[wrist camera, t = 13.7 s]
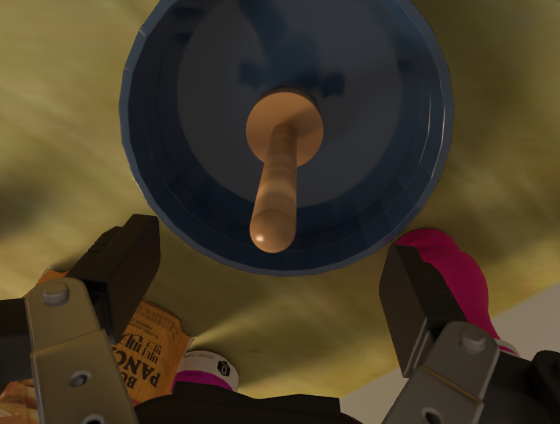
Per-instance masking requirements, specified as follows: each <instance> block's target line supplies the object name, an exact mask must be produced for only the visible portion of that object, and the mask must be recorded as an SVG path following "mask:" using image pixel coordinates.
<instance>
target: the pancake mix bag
mask: <svg viewBox="0 0 560 424" xmlns="http://www.w3.org/2000/svg"><path fill="white" fill-rule="evenodd" d="M70 270H71V269H69V270H67V271H65V272H58V271H54V270H50V269H46V270H45V272H44V273H43V275H42V276H41V278H40V279H39V281H38V283H37V284H36V286H37V285H39V284H41V283H43V282H45V281H48V280H51V279H56V278H64V277H65V275H66V274H67V273H68V272H69V271H70ZM36 286H35V287H36ZM28 293H29V292H28ZM28 293H27V294H28ZM27 294H25V295H24V296H23V297H22V298H25V297H26V295H27ZM193 340H194V339H193V338H191V337H190V336H189V335H187V334H186V333H185V332H183V331H182V326H181V321H180V320H179V319H178V318H177V317H175V316H174V315H172V314H171V313H169V312H168V311H166V310H164V309H162V308H160V307H158V306H156V305H154V304H152V303H150V302H148V301H146V300H144V299H142V301H141V302H140V304H139V306H138V308H137V310H136V312H135V313H134V315H133V317H132V319H131V321H130V323H129V324H128V326H127V328H126V330H125V332H124V333H123V335H122V337H121V339H120V341H119V343H118V344H117V345H111V347H112V350H113V353H114V355H115V358H116V361H117V364H118V366H119V369H120V372H121V374H122V377H123V380H124V383H125V385H126V388H127V391H128V394H129V396H130V399H131V402H132V404H133V407H134V406H136V405H138V404H140V403H142V402H144V401H147V400H149V399H152V398H155V397H159V396H163V395H168V394H170V392H171V388H172V385H173V381H174V378H175V376H176V373H177V370H178V368H179V366H180V363H181V361H182V359H183V356H184V355H185V353H186V351H187V350H188V348H189V346H190V345H191V343H192V342H193ZM0 424H39V417H38V410H37V403H36V396H35V389H34V382H33V378H32V379H26V380H20V381H14V382H10V383H9V384H8V386H7V387H6V388H5V390H4V391H3V393H2V394H1V396H0Z"/></svg>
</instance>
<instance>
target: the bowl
mask: <svg viewBox="0 0 560 424" xmlns="http://www.w3.org/2000/svg"><path fill="white" fill-rule="evenodd" d="M278 87H294V88H297V89H300V90H302V91H304V92H305V93H307V94H308V95H309V96H311V97H312V99H313V100H314V101H315V102H316V104H317V105H318V108H319V110H320V113H321V117H322V121H323V127H324V134H323V140H322V143H321V146H320V148H319V150H318V151H317V153H316V154H315V155H314V156H313V157H312V158H311V159H310V160H309V161H308V162H306V163H305V164H303V165H301V166H298V167H297V193H296V234H295V238H294V240H293V242H292V243H291V244H290V246H289V247H287V248H286V249H284V250H283V251H280V252H276V253H270V252H265V251H263V250H261V249H260V248H258V247H257V246H256V245H255V244H254V242H253V240H252V238H251V235H250V223H251V219H252V215H253V210H254V206H255V202H256V198H257V193H258V189H259V185H260V180H261V176H262V172H263V168H264V162H262V161H261V160H260V159H258V157H257V156H256V155H255V154H254V153H253V152H252V150H251V148H250V146H249V144H248V141H247V137H246V124H247V119H248V116H249V114H250V112H251V110H252V108H253V106H254V104H255V103H256V101H257V100H258V99H259V98H260V97H261V96H262V95H263V94H264V93H266V92H267V91H269V90H271V89H274V88H278ZM119 115H120V126H121V138H122V145H123V148H124V151H125V154H126V157H127V161H128V164H129V167H130V170H131V173H132V176H133V178H134V180H135V182H136V183H137V185H138V187H139V189H140V190H141V192H142V194H143V196H144V197H145V199H146V201H147V203H148V205H149V206H150V207H151V208H152V209H153V211H154V212H155V213H156V214H157V215H158V216H159V218H160V219H161V220H162V221H163V222H164V223H165V225H166V226H167V227H168V228H169V229H170V230H171V231H172V232H173V233H174V234H176V235H177V236H178V237H180V238H181V239H182V240H183V241H185V242H186V243H187V244H188V245H190V246H191V247H192V248H194V249H195V250H196V251H198V252H200V253H202V254H204V255H206V256H208V257H210V258H212V259H214V260H216V261H217V262H219V263H221V264H224V265H227V266H230V267H233V268H237V269H240V270H243V271H247V272H250V273H253V274H262V275H270V276H279V277H290V276H305V275H313V274H314V275H316V274H320V273H324V272H328V271H331V270H335V269H339V268H343V267H346V266H348V265H350V264H352V263H354V262H356V261H358V260H361V259H363V258H365V257H367V256H369V255H371V254H373V253H375V252H376V251H377V250H379V249H380V248H381V247H383V246H384V245H386V244H387V243H388V242H390V241H391V240H393V239H394V238H395V237H397V236H398V234H400V233H401V232H402V231H403V230H404V229H405V227H406V226H407V225H408V224H409V223H410V222H411V221H412V220H413V219H414V218H415V217H416V215H417V214H418V213H419V212H420V211H421V210H422V208H423V207H424V205H425V203H426V202H427V200H428V198H429V197H430V195H431V193H432V192H433V190H434V188H435V187H436V185H437V183H438V182H439V179H440V176H441V173H442V170H443V167H444V164H445V161H446V158H447V155H448V152H449V149H450V145H451V137H452V126H453V116H454V102H453V95H452V88H451V81H450V73H449V69H448V65H447V63H446V60H445V58H444V55H443V53H442V51H441V48H440V46H439V43H438V41H437V38H436V36H435V33H434V31H433V29H432V28H431V26H430V25H429V24H428V22H427V21H426V20H425V18H424V17H423V15H422V14H421V13H420V11H419V10H418V9H417V7H416V6H415V5H414V3H413V2H412V1H411V0H160V2H159V3H158V4H157V6H156V7H155V8H154V10H153V11H152V13H151V14H150V15H149V17H148V18H147V20H146V21H145V22H144V24H143V25H142V26H141V28H140V29H139V31H138V33H137V36H136V38H135V41H134V44H133V46H132V49H131V51H130V54H129V56H128V59H127V61H126V64H125V66H124V71H123V78H122V85H121V93H120V100H119Z"/></svg>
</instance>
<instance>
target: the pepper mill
mask: <svg viewBox="0 0 560 424" xmlns="http://www.w3.org/2000/svg"><path fill="white" fill-rule="evenodd" d="M395 244H398V245H407V246H415V247H416V248H417V250H418V252H419V254H420V256H421V258H422V260H423V262H430V263H431V264H432V265H433V266H434V267H435V268H436V269H437V270H439V271H440V272H441V274H442V275H443V277H444V279H445V281H446V283H447V285H448V286H449V288H450V290H451V291H452V294H453V295H454V297H455V299H456V300H457V302H458V304H459V306H460V308H461V309H462V311H463V313H464V315H465V316H466V318H467V320H468V322H469V323H471V324H473V325H476V326H478V327H480V328H481V329H483V330H484V331H486V332H487V333H488V334H490V335H491V336H492V337H493V338H494V340H495V341H496V342H497V344H498V346H499V349H500V351H503V352H505V353H508V354H511V355H514V356H517V357H520V355H519V353H518V351H517V350H516V349H515V348H514V347H513V346H512V345H511V344H509V343H508V342H505V341H503V340H501V339H500V338H499V336H498V335H497V333H496V331H495V329H494V327H493V325H492V323H491V320H490V317H489V313H488V302H489V301H488V287H487V283H486V279H485V277H484V274H483V273H482V271H481V269H480V267H479V266H478V264H477V263H476V261H475V260H474V259H473V258H472V257H470V256H469V255H468V254H466V253H464V252H462V251H460V250H459V248H458V247H457V245H456V244H455V242H454V241H453V240H452V239H451V237H449V236H448V235H447V234H445V233H444V232H441V231H439V230H434V229H421V230H416V231H412V232H409V233H408V234H406V235H404V236H403V237H401V238H400V239H399V240H398V241H397V242H396V243H395ZM520 358H521V357H520Z"/></svg>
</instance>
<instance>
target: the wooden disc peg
mask: <svg viewBox="0 0 560 424" xmlns="http://www.w3.org/2000/svg"><path fill="white" fill-rule="evenodd" d="M323 134H324V127H323V121H322V117H321V113H320V110H319V108H318V105H317V104H316V102H315V101H314V100H313V99H312V97H311V96H309V95H308V94H307V93H305V92H304V91H302V90H300V89H297V88H294V87H278V88H274V89H271V90H269V91H267V92H266V93H264V94H263V95H262V96H261V97H260V98H259V99H258V100H257V101H256V103H255V104H254V106H253V108H252V110H251V112H250V114H249V116H248V119H247V124H246V137H247V141H248V144H249V146H250V148H251V150H252V152H253V153H254V154H255V155H256V156H257V157H258V159H260V160H261V161H262V162H264V168H263V172H262V176H261V180H260V185H259V189H258V193H257V198H256V202H255V206H254V210H253V215H252V219H251V223H250V235H251V238H252V240H253V242H254V244H255V245H256V246H257V247H258V248H260V249H261V250H263V251H265V252H270V253H276V252H280V251H283V250H284V249H286V248H287V247H289V246H290V244H291V243H292V242H293V240H294V238H295V234H296V193H297V167H298V166H301V165H303V164H305V163H306V162H308V161H309V160H310V159H311V158H312V157H313V156H314V155H315V154H316V153H317V151H318V150H319V148H320V146H321V143H322V140H323Z"/></svg>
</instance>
